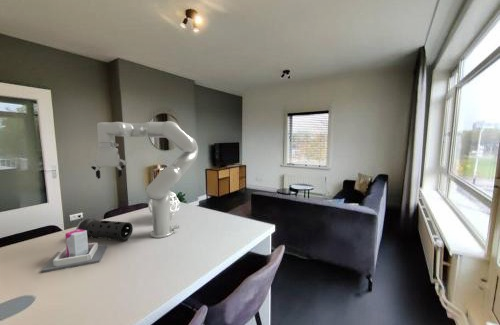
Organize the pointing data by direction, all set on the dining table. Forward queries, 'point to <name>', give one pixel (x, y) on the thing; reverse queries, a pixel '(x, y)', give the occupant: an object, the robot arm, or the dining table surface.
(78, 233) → the supplement box
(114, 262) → the dining table surface
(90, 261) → the socket plate
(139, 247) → the dining table surface
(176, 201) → the decorative ball
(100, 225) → the muzzle brake
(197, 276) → the dining table surface
